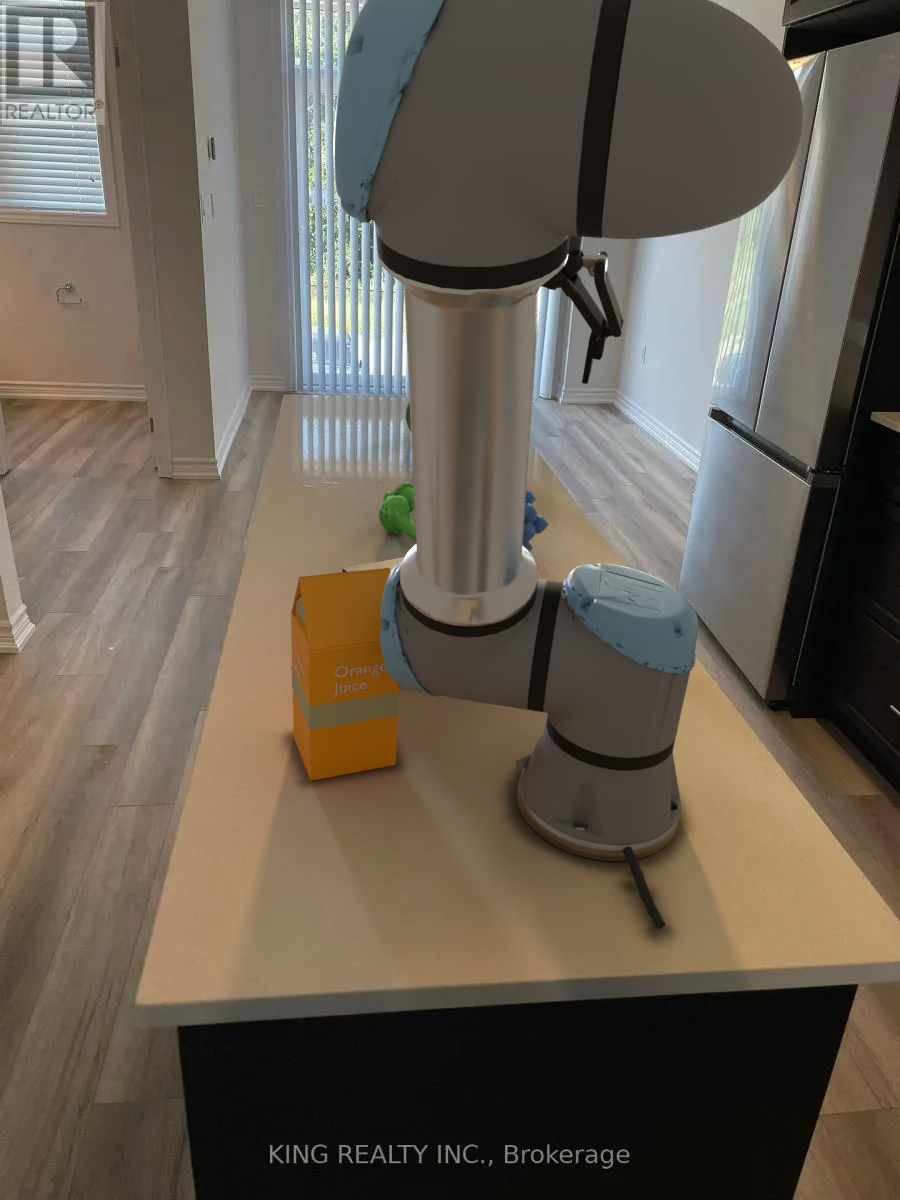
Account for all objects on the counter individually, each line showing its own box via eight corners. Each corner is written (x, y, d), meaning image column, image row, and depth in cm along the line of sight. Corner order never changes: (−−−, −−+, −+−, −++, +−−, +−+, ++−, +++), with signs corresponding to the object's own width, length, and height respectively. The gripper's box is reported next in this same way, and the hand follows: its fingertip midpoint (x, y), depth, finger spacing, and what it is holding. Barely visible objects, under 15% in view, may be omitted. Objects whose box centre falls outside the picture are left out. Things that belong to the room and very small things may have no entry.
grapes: (550, 576, 129) (560, 500, 124) (505, 574, 129) (513, 499, 123) (538, 545, 140) (546, 474, 134) (497, 544, 139) (504, 472, 134)
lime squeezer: (451, 568, 129) (454, 529, 126) (372, 564, 129) (373, 525, 126) (449, 493, 159) (451, 460, 156) (385, 489, 159) (386, 456, 156)
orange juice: (397, 765, 86) (404, 584, 77) (309, 781, 83) (307, 595, 74) (374, 722, 92) (378, 551, 84) (292, 736, 89) (288, 559, 80)
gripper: (669, 208, 96) (633, 368, 112) (453, 176, 100) (449, 336, 116) (662, 240, 91) (626, 402, 108) (436, 206, 95) (434, 368, 111)
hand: (534, 368), depth 112 cm, fingers open, 13 cm apart
